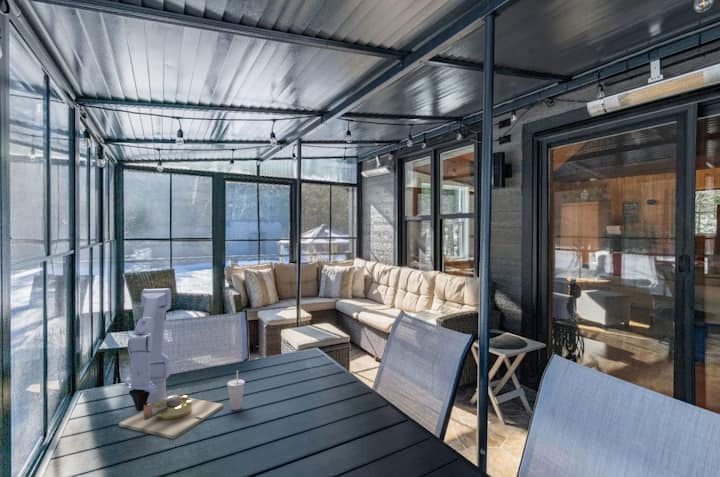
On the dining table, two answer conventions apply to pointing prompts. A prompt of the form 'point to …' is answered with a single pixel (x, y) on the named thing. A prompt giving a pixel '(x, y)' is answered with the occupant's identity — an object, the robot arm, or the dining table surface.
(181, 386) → the dining table surface
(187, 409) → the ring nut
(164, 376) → the robot arm
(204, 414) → the base plate
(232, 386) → the smoothie
